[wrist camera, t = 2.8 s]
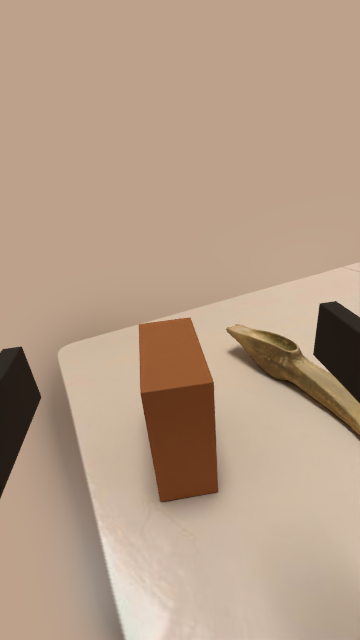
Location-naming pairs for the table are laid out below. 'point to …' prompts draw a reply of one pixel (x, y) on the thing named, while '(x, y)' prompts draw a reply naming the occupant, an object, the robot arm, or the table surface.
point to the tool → (298, 371)
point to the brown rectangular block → (178, 409)
